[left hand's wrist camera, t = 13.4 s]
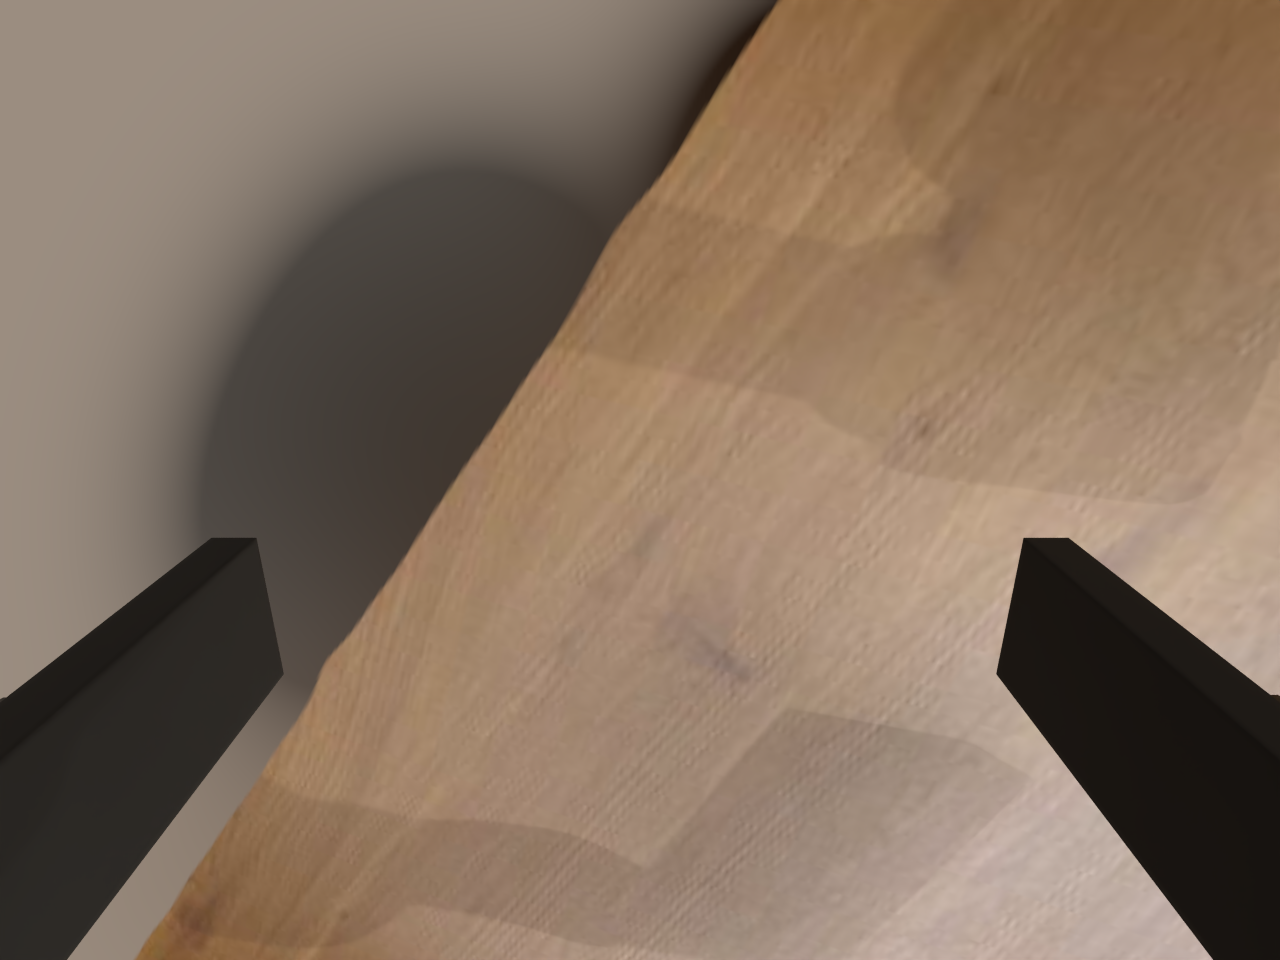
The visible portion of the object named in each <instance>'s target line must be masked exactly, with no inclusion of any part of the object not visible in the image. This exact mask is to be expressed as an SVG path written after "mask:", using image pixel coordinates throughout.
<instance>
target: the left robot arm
mask: <svg viewBox="0 0 1280 960" xmlns="http://www.w3.org/2000/svg"><path fill="white" fill-rule="evenodd" d="M996 674H997V676H998V677H999V678H1000V679H1001V681H1002V682H1003V683H1004V685H1005V686H1006V687H1007V689H1008V690H1009V691H1010V693H1011V694H1012V695H1013V697H1014V698H1015V699H1016V701H1017V702H1018V703H1019V705H1020V706H1021V707H1022V708H1023V710H1024V711H1025V712H1026V714H1027V715H1028V716H1029V718H1030V719H1031V720H1032V722H1033V723H1034V724H1035V726H1036V727H1037V728H1038V730H1039V731H1040V732H1041V734H1042V735H1043V736H1044V737H1045V739H1046V740H1047V741H1048V743H1049V744H1050V745H1051V747H1052V748H1053V749H1054V751H1055V752H1056V753H1057V755H1058V756H1059V757H1060V759H1061V760H1062V761H1063V762H1064V764H1065V765H1066V766H1067V768H1068V769H1069V770H1070V772H1071V773H1072V774H1073V776H1074V777H1075V778H1076V780H1077V781H1078V782H1079V784H1080V785H1081V786H1082V788H1083V789H1084V790H1085V791H1086V793H1087V794H1088V795H1089V797H1090V798H1091V799H1092V801H1093V802H1094V803H1095V805H1096V806H1097V807H1098V809H1099V810H1100V811H1101V813H1102V814H1103V815H1104V817H1105V818H1106V819H1107V820H1108V822H1109V823H1110V824H1111V826H1112V827H1113V828H1114V830H1115V831H1116V832H1117V834H1118V835H1119V836H1120V838H1121V839H1122V840H1123V842H1124V843H1125V844H1126V846H1127V847H1128V848H1129V849H1130V851H1131V852H1132V853H1133V855H1134V856H1135V857H1136V859H1137V860H1138V861H1139V863H1140V864H1141V865H1142V867H1143V868H1144V869H1145V871H1146V872H1147V873H1148V874H1149V876H1150V877H1151V878H1152V880H1153V881H1154V882H1155V884H1156V885H1157V886H1158V888H1159V889H1160V890H1161V892H1162V893H1163V894H1164V896H1165V897H1166V898H1167V900H1168V901H1169V902H1170V903H1171V905H1172V906H1173V907H1174V909H1175V910H1176V911H1177V913H1178V914H1179V915H1180V917H1181V918H1182V919H1183V921H1184V922H1185V923H1186V925H1187V926H1188V927H1189V929H1190V930H1191V931H1192V932H1193V934H1194V935H1195V936H1196V938H1197V939H1198V940H1199V942H1200V943H1201V944H1202V946H1203V947H1204V948H1205V950H1206V951H1207V952H1208V954H1209V955H1210V956H1211V957H1212V959H1213V960H1280V696H1279V695H1270V694H1268V693H1267V692H1266V691H1265V690H1263V689H1262V688H1261V687H1259V686H1258V685H1257V684H1256V683H1254V682H1253V681H1252V680H1250V679H1249V678H1248V677H1247V676H1245V675H1244V674H1243V673H1241V672H1240V671H1239V670H1238V669H1236V668H1235V667H1234V666H1232V665H1231V664H1230V663H1229V662H1227V661H1226V660H1225V659H1223V658H1222V657H1221V656H1220V655H1218V654H1217V653H1216V652H1214V651H1213V650H1212V649H1211V648H1209V647H1208V646H1207V645H1205V644H1204V643H1203V642H1202V641H1200V640H1199V639H1198V638H1196V637H1195V636H1194V635H1193V634H1191V633H1190V632H1189V631H1187V630H1186V629H1185V628H1184V627H1182V626H1181V625H1180V624H1178V623H1177V622H1176V621H1175V620H1173V619H1172V618H1171V617H1169V616H1168V615H1167V614H1166V613H1164V612H1163V611H1162V610H1160V609H1159V608H1158V607H1157V606H1155V605H1154V604H1153V603H1151V602H1150V601H1149V600H1148V599H1146V598H1145V597H1144V596H1142V595H1141V594H1140V593H1139V592H1137V591H1136V590H1135V589H1133V588H1132V587H1131V586H1130V585H1128V584H1127V583H1126V582H1124V581H1123V580H1122V579H1121V578H1119V577H1118V576H1117V575H1115V574H1114V573H1113V572H1112V571H1110V570H1109V569H1108V568H1106V567H1105V566H1104V565H1103V564H1101V563H1100V562H1099V561H1097V560H1096V559H1095V558H1094V557H1092V556H1091V555H1090V554H1088V553H1087V552H1086V551H1085V550H1083V549H1082V548H1081V547H1079V546H1078V545H1077V544H1076V543H1074V542H1073V541H1072V540H1070V539H1069V538H1024V539H1023V544H1022V549H1021V554H1020V559H1019V564H1018V569H1017V573H1016V578H1015V583H1014V588H1013V593H1012V598H1011V603H1010V608H1009V613H1008V618H1007V623H1006V628H1005V633H1004V638H1003V643H1002V648H1001V653H1000V658H999V663H998V668H997V673H996ZM282 676H283V668H282V663H281V658H280V653H279V648H278V643H277V638H276V633H275V628H274V623H273V618H272V613H271V608H270V603H269V598H268V593H267V588H266V583H265V578H264V574H263V569H262V564H261V559H260V554H259V549H258V544H257V539H256V538H211V539H210V540H208V541H207V542H206V543H204V544H203V545H202V546H201V547H199V548H198V549H197V550H195V551H194V552H193V553H192V554H190V555H189V556H188V557H186V558H185V559H184V560H183V561H181V562H180V563H179V564H177V565H176V566H175V567H174V568H172V569H171V570H170V571H168V572H167V573H166V574H165V575H163V576H162V577H161V578H159V579H158V580H157V581H156V582H154V583H153V584H152V585H150V586H149V587H148V588H147V589H145V590H144V591H143V592H141V593H140V594H139V595H138V596H136V597H135V598H134V599H132V600H131V601H130V602H129V603H127V604H126V605H125V606H123V607H122V608H121V609H120V610H118V611H117V612H116V613H114V614H113V615H112V616H111V617H109V618H108V619H107V620H105V621H104V622H103V623H102V624H100V625H99V626H98V627H96V628H95V629H94V630H93V631H91V632H90V633H89V634H87V635H86V636H85V637H84V638H82V639H81V640H80V641H78V642H77V643H76V644H75V645H73V646H72V647H71V648H70V649H68V650H67V651H66V652H64V653H63V654H62V655H60V656H59V657H58V658H57V659H55V660H54V661H53V662H51V663H50V664H49V665H48V666H46V667H45V668H44V669H42V670H41V671H40V672H39V673H37V674H36V675H35V676H33V677H32V678H31V679H30V680H28V681H27V682H26V683H24V684H23V685H22V686H21V687H19V688H18V689H17V690H16V691H14V692H13V693H12V694H10V695H9V696H8V697H6V698H2V699H0V960H67V959H68V957H69V956H70V955H71V953H72V952H73V951H74V950H75V948H76V947H77V946H78V944H79V943H80V942H81V940H82V939H83V938H84V936H85V935H86V934H87V932H88V931H89V930H90V929H91V927H92V926H93V925H94V923H95V922H96V921H97V919H98V918H99V917H100V915H101V914H102V913H103V911H104V910H105V909H106V907H107V906H108V905H109V903H110V902H111V901H112V899H113V898H114V897H115V896H116V894H117V893H118V892H119V890H120V889H121V888H122V886H123V885H124V884H125V882H126V881H127V880H128V878H129V877H130V876H131V874H132V873H133V872H134V871H135V869H136V868H137V866H138V865H139V864H140V863H141V861H142V860H143V859H144V857H145V856H146V855H147V853H148V852H149V851H150V849H151V848H152V847H153V845H154V844H155V843H156V842H157V840H158V839H159V838H160V836H161V835H162V834H163V832H164V831H165V830H166V828H167V827H168V826H169V824H170V823H171V822H172V820H173V819H174V818H175V817H176V815H177V814H178V813H179V811H180V810H181V809H182V807H183V806H184V805H185V803H186V802H187V801H188V799H189V798H190V797H191V795H192V794H193V793H194V791H195V790H196V789H197V787H198V786H199V785H200V784H201V782H202V781H203V780H204V778H205V777H206V776H207V774H208V773H209V772H210V770H211V769H212V768H213V766H214V765H215V764H216V762H217V761H218V760H219V758H220V757H221V756H222V755H223V753H224V752H225V751H226V749H227V748H228V747H229V745H230V744H231V743H232V741H233V740H234V739H235V737H236V736H237V735H238V734H239V732H240V731H241V730H242V728H243V727H244V726H245V724H246V723H247V722H248V720H249V719H250V718H251V716H252V715H253V714H254V712H255V711H256V710H257V708H258V707H259V706H260V705H261V703H262V702H263V701H264V699H265V698H266V697H267V695H268V694H269V693H270V691H271V690H272V689H273V687H274V686H275V685H276V683H277V682H278V681H279V679H280V678H281V677H282Z"/></svg>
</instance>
